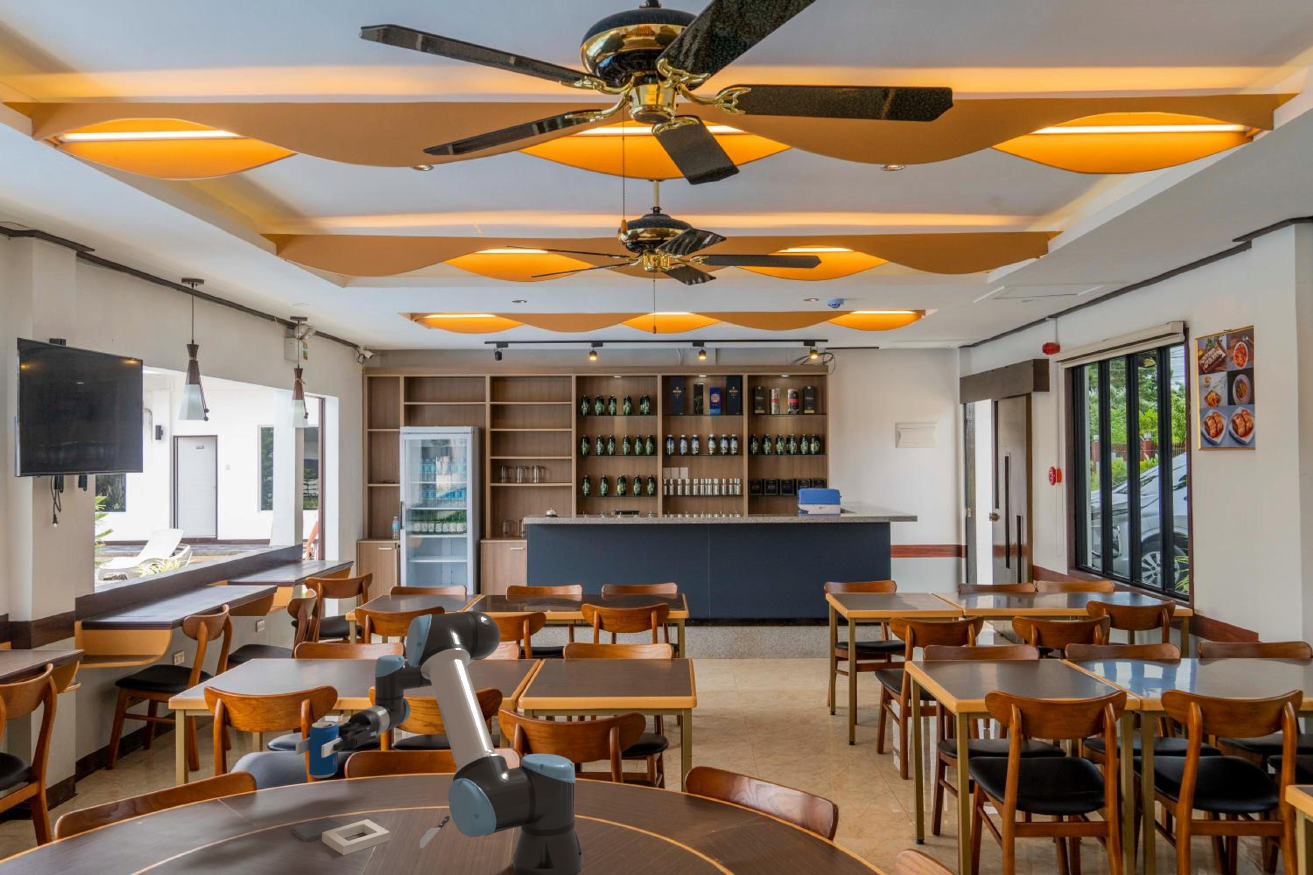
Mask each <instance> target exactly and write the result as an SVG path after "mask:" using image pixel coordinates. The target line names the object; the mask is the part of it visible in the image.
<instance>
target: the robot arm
mask: <svg viewBox="0 0 1313 875" xmlns="http://www.w3.org/2000/svg"><path fill="white" fill-rule="evenodd" d="M500 642H501V630H500V627H499V625H498V623H497V622H496V620H494V618H493V617H491V616H490V615H488V614H487V613H485V612H481V611H477V610H467V611H466V610H465V611H460V612H459V611H458V612H457V611H455V612H446V613H438V614H437V613H436V614H431V613H429V614H426V615H418V616H416V617H414V618H413V619H412V620H411V622H410V624H409V627H408V629H407V635H406V641H405V653H406V655H405V656H406V661H405V656H403V655H400V654H387V655H382V656H379V657H378V658H377V660H376V663H375V672H374V678H375V679H374V686H375V687H374V705H373V706H370V707H367V708H365V709H363V710H361V711H359V712H356V713H354V714H352V715H351V716H350V718H349V719H348V721H347V722H344V723H343V724H340V725H337V726H338V728H339V734H338V738H337V739H336V740H333V741H331V742H329V743H326V744H324V745H322V755H321V757H323V758H324V757H327V756H329V755H331V754H333V753H335V752H337V751H338V752H339V751H341V750H347V749H349V748H350V749H351V750H355V749H356V748H358V747H360V746H362V745H363V744H366V743H368V742H369V741H370V740H374V739H376V738H377V736H379V735H381V734H384V733H385V732H388V731H389V730H392V729H395V728H398V727H400V725H402V724H403V723H405V722H406V721H407V720H408V718H409V717H410V715H411V706H410V703H409V701H408V699H406V698H405V697H404V696H405V694H404V693H405V690H410V689H419V688H426V687H432V689H433V693H434V696H435V699H436V702H437V706H438V709H439V713H440V716H441V720H442V723H443V725H444V730H445V733H446V736H447V739H448V743H449V747H450V751H451V752H452V756H453V760H454V763H455V766H456V770H455V772H454V774H453V776H452V782H451V784H450V786H449V788H448V791H447V792H448V793H447V798H448V799H447V801H448V802H449V805H448V807H449V812H450V817H451V818H452V821H453V823H454V825H455V827H456V828H457V830H458V831H459V832H460V833H461V834H462V835H464V836H466V837H468V838H475V837H476V838H477V837H482V836H484V837H487V836H491V835H493V834H495V833H499V832H502V831H503V832H504V831H507V830H510V829H513V828H518V827H520V834H519V837H518V840H517V844H516V847H515V851H514V853H513V857H512V871H513V873H514V874H515V875H576V874H578V873H579V872H580V871H581V870H582V869H583V865H584V863H583V862H584V857H583V856H584V855H583V851H582V849H581V845H580V841H579V837H578V834H577V831H576V827H575V826H576V822H575V821H576V819H575V818H576V811H575V810H576V802H575V801H576V783H577V781H576V770H575V765H574V763H573V762H572V761H571V760H570V759H568V758H566V757H564V756H561V755H558V754H552V753H551V754H549V753H532V754H531V753H530V754H527V755H525V756H523V757H522V758H521V761H520V765H521V766H516V767H512V768H510V767H509V766H508V764H507V759H506V758H505V757H504V756H503V755H502V754H499V753H497V752H496V751H495V748H494V745H493V742H492V738H491V735H490V733H489V729H488V726H487V724H486V721H485V718H484V715H483V712H482V708H481V705H480V703H479V698H478V696H477V693H476V691H475V688H474V684H473V681H472V679H471V676H470V672H469V669H468V666H469V665H470V664H472V663H473V662H475V661H481V660H485V659H486V658H488V657H490V656H491V655H492V654H493V653H494V652H495V651H497V649H498V647H499V644H500ZM307 752H310V732H308V733H306V738H304V739H302V740H300V741H298V742H296V743H295V756H300V755H302V754H305V753H307Z"/></svg>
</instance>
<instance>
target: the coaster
mask: <svg viewBox="0 0 1313 875" xmlns="http://www.w3.org/2000/svg"><path fill="white" fill-rule="evenodd" d="M342 826H343V825H341V824H339V823H337V822H336V821H335V820H333V819H331V818H330V817H323V818H321V819H320V818H318V819H316V820H313V821H309V822H305V823H302V824H298V825H295V826H291V827H290V832H291V833H292V834H293V833H294V834H293V835H294V836H296V837H298V838H299V839H301V840H302V841H304V842H305V843H309V842H313V841H315V840H319V839H322V832H325V831H329V830H332V829H335V828H339V827H342Z"/></svg>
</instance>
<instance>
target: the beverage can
mask: <svg viewBox="0 0 1313 875" xmlns="http://www.w3.org/2000/svg"><path fill="white" fill-rule="evenodd" d="M338 726H339V725H338V723H337V721H333V720H321V721H317V722H314V723H312V724H311V728H310V730H309V733H310V750H309V751H308V752H309V753H308V755H309V756H308V758H309V759H308V762H309V763H308V774H309V775H310V776H312V778H315V779H323V778H329V777H332V776H333V775H335V774H336V773H337V772H338V770H339V768H338V767H339V751H337V752H335V753H333V754H331V755H329V756H327V757H324V758H323V757H321V755H322V745H324V744H326V743H329V742H331V741H333V740H336V739H337V738H338V734H339V728H338Z"/></svg>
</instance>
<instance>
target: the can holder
mask: <svg viewBox="0 0 1313 875" xmlns="http://www.w3.org/2000/svg"><path fill="white" fill-rule="evenodd" d="M341 826H342V827H339V828H335V829H332V830H329V831H325V832H322V838H321V840H322V841H321V842H323V843H325V844H326V845H327V846H328V847H330V848H331V849H333V850H335V851H336V852H338V853H339V854H341V855H343V856H347V855H350V854H352V853H356V852H359V851H362V850H364V849H368V848H371V847H374V846H378V845H380V844H383V843H385V844H386V843H388V842H390V840H391V831H389V830H387V829H386V828H383V827H382V826H380V825H379V824H377V823H375V822H373V821H372V820H370V819H368V818H366V819H364V820H363V819H362V820H360V821H356V822H354V823H353V822H352V823H349V824H347V825H341ZM362 833H364V834H365V835H364V836H361V837H358V838H354V839H351V840H350V839H349V840H347V839H346V838H350V837H352V836H354V835H358V834H362Z"/></svg>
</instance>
